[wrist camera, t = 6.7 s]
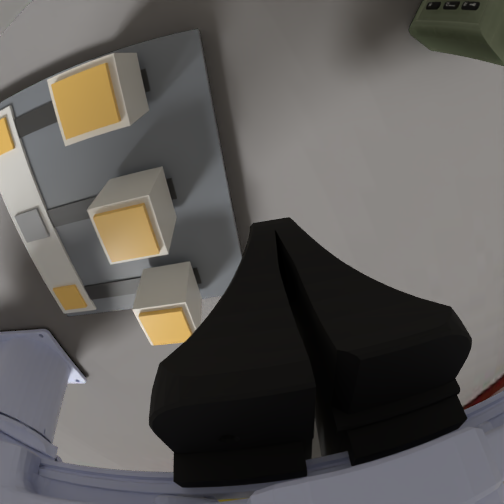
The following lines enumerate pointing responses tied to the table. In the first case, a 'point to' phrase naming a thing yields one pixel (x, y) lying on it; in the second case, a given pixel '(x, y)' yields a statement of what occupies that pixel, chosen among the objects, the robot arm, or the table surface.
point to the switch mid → (134, 216)
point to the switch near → (98, 97)
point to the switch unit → (115, 165)
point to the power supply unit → (10, 12)
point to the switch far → (168, 303)
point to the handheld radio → (462, 28)
